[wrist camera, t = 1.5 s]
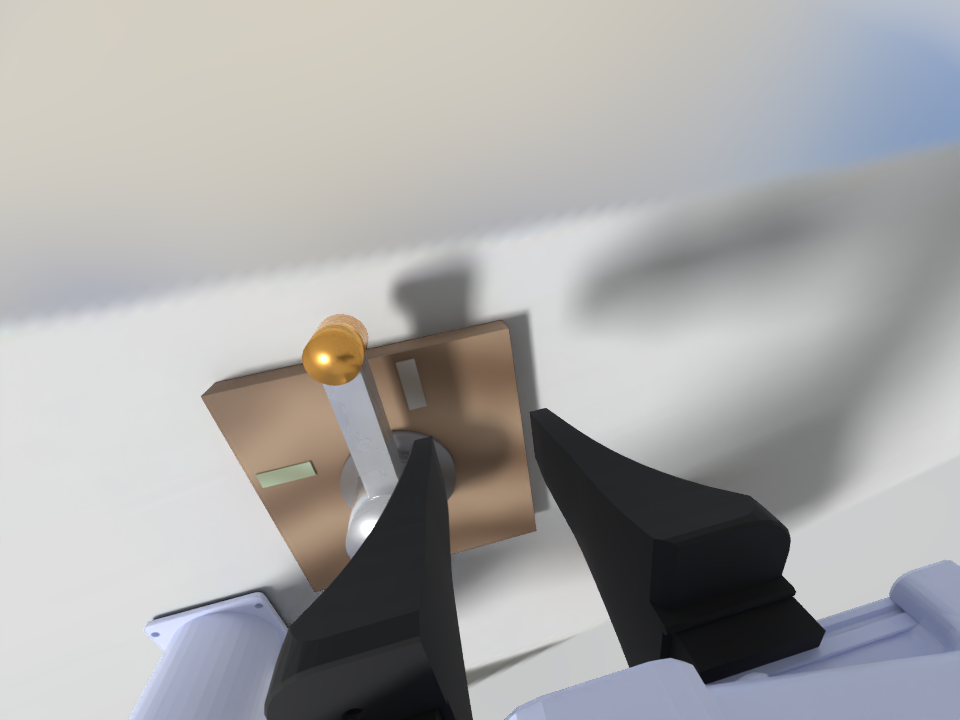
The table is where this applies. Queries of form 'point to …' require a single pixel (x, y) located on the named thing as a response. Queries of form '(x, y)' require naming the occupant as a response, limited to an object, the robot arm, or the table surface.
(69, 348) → the table surface
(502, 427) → the coupling base
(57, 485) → the table surface
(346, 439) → the gold-capped lever
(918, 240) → the table surface
